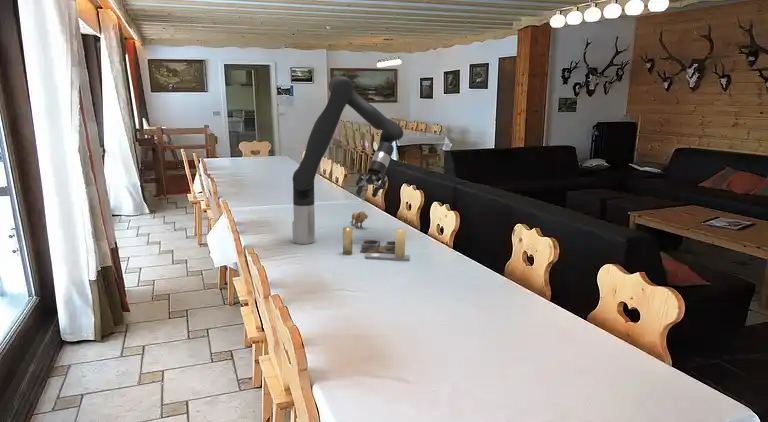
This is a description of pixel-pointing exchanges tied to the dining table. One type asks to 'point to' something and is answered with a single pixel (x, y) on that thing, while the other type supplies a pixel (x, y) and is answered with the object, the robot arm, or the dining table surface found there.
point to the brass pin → (347, 240)
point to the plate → (387, 257)
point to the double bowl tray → (377, 247)
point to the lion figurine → (358, 218)
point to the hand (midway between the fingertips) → (365, 195)
